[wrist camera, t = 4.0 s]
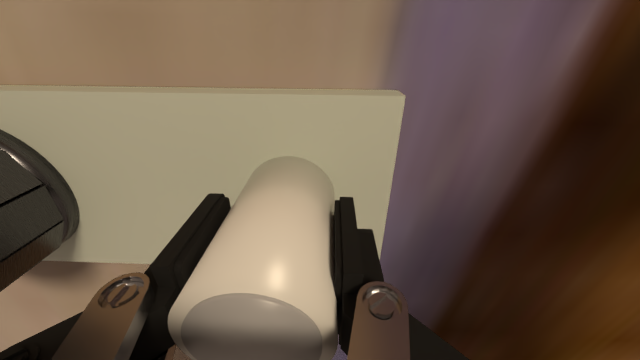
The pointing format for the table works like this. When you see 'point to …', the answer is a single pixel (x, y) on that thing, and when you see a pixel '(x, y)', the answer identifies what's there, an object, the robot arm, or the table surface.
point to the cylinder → (266, 273)
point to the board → (196, 153)
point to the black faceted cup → (31, 209)
